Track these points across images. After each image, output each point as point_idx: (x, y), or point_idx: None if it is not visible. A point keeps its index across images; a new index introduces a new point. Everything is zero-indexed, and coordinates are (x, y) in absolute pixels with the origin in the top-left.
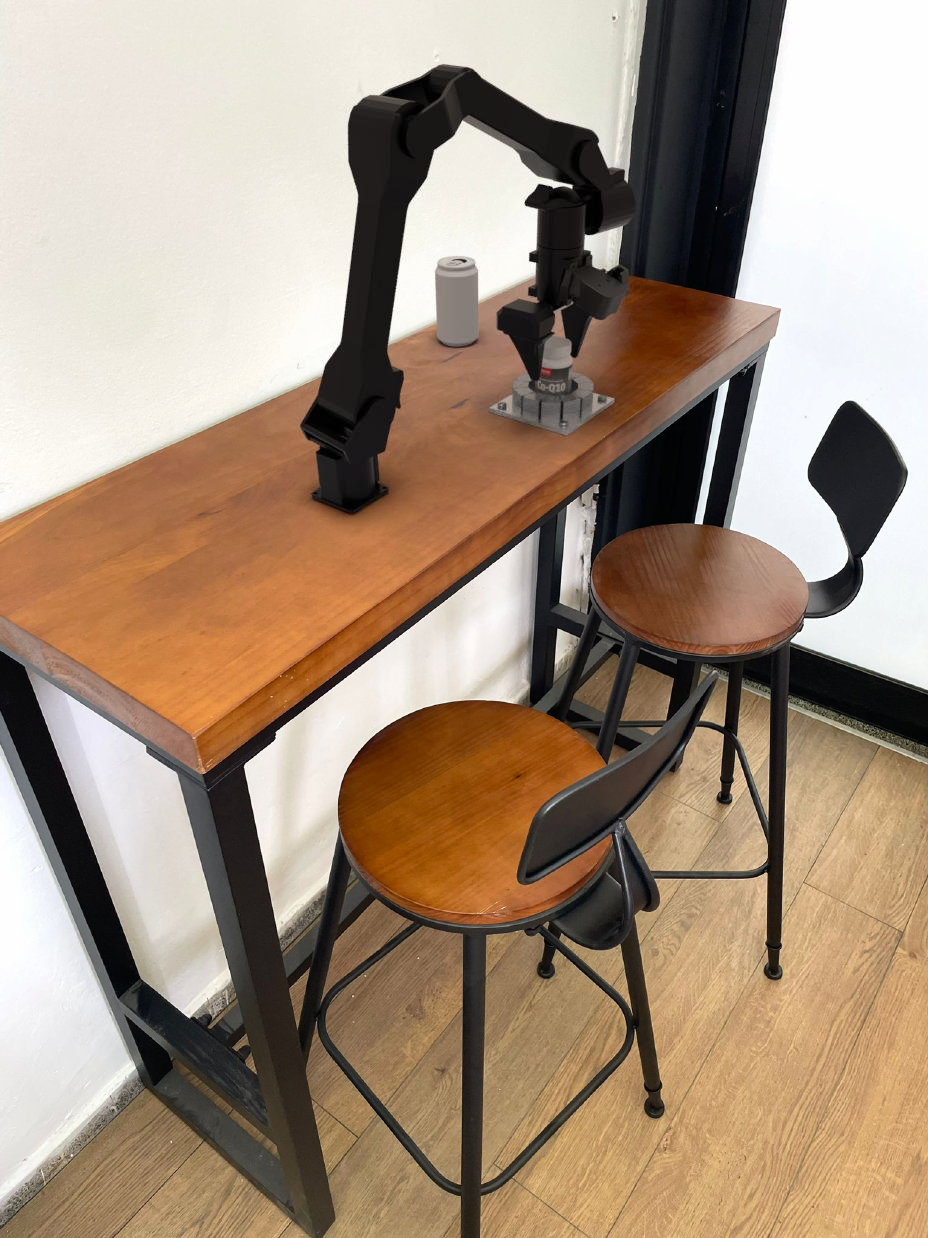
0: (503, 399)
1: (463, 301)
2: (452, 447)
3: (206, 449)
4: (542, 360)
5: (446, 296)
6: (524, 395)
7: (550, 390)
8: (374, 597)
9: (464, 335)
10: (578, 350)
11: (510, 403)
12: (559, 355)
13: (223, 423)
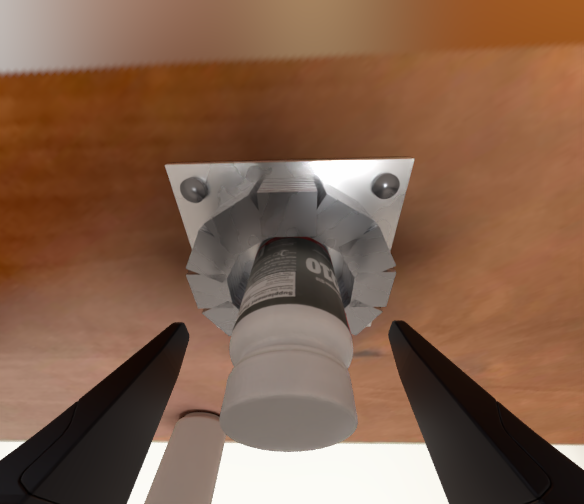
0: None
1: (189, 498)
2: (521, 298)
3: (558, 431)
4: (445, 383)
5: None
6: (376, 307)
7: (336, 280)
8: None
9: (207, 430)
10: (164, 339)
11: None
12: (335, 365)
13: None
